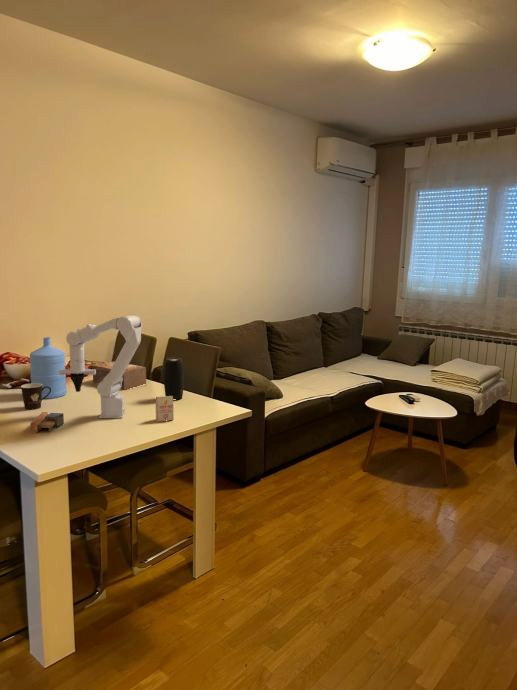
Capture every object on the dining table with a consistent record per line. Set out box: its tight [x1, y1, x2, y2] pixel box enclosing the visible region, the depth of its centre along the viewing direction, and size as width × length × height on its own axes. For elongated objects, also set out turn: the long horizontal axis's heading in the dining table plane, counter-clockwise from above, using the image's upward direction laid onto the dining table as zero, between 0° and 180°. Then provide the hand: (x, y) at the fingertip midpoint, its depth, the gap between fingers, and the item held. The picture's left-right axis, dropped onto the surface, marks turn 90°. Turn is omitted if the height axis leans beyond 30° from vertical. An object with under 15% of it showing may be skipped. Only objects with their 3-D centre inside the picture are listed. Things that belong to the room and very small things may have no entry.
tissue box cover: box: [92, 360, 147, 391], centre depth 265 cm, size 26×14×10 cm, turn 54°
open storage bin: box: [45, 412, 65, 429], centre depth 194 cm, size 5×5×4 cm
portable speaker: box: [163, 356, 185, 400], centre depth 237 cm, size 9×9×20 cm
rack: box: [30, 411, 55, 434], centre depth 193 cm, size 7×14×4 cm, turn 6°
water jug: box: [29, 336, 68, 400], centre depth 238 cm, size 16×16×28 cm
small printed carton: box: [155, 396, 174, 422], centre depth 204 cm, size 4×7×10 cm, turn 108°
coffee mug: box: [20, 383, 51, 411], centre depth 218 cm, size 12×9×10 cm
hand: (78, 391), depth 211 cm, fingers closed
